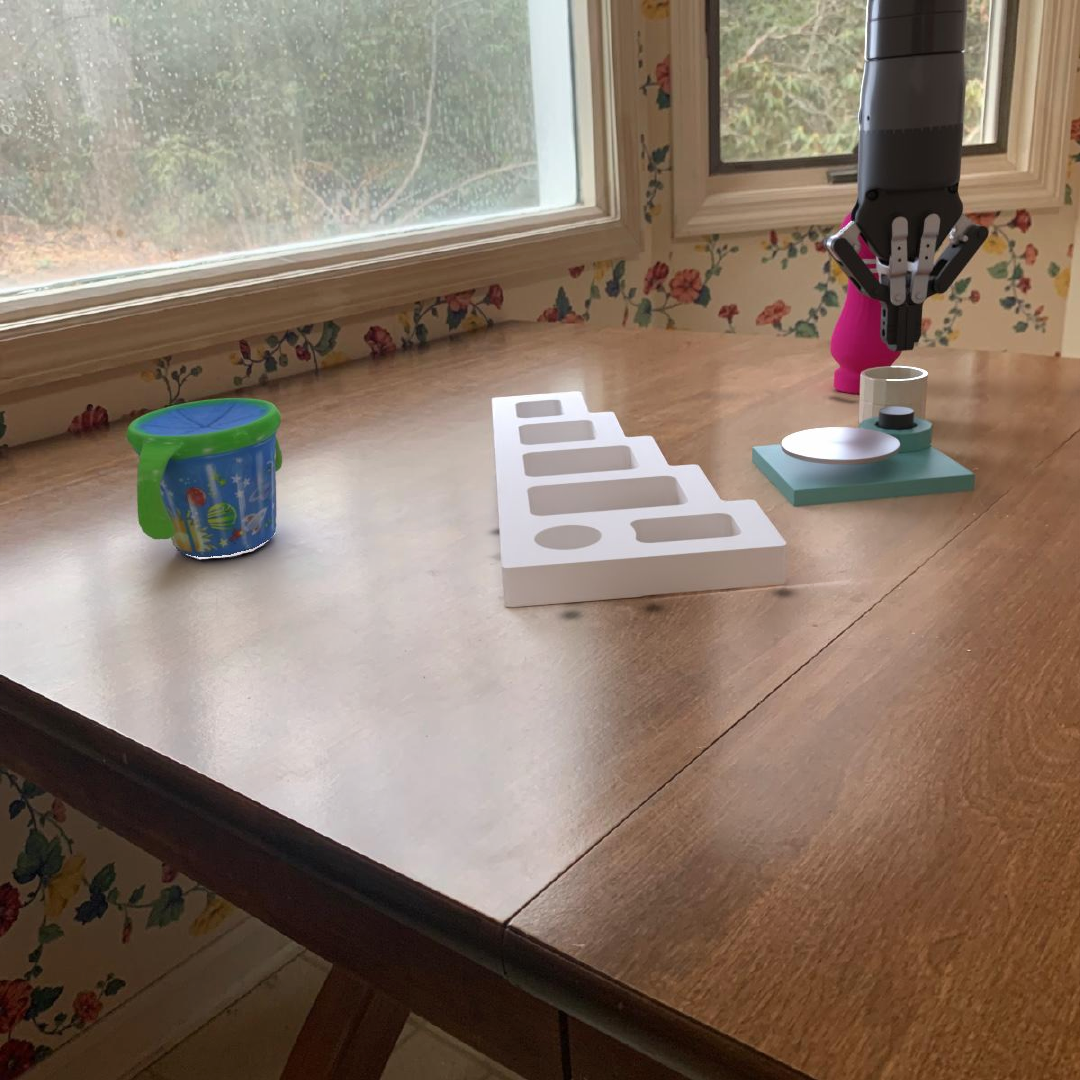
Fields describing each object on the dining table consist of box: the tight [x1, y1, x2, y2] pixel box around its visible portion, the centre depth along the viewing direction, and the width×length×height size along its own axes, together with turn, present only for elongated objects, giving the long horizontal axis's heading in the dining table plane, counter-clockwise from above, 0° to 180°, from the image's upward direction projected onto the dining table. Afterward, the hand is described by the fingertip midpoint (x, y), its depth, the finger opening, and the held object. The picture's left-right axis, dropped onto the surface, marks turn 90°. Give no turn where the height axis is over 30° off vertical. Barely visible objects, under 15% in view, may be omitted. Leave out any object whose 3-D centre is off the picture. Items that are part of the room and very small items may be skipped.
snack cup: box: [125, 397, 283, 560], centre depth 81 cm, size 16×10×10 cm
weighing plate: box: [780, 426, 900, 465], centre depth 86 cm, size 9×9×1 cm
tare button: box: [878, 406, 914, 430], centre depth 90 cm, size 3×3×2 cm
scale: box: [751, 417, 976, 508], centre depth 88 cm, size 14×12×3 cm
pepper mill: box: [829, 211, 903, 395], centre depth 111 cm, size 7×7×20 cm
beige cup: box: [858, 365, 929, 424], centre depth 100 cm, size 6×6×5 cm
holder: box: [491, 390, 787, 608], centre depth 89 cm, size 45×18×3 cm, turn 3°
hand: (900, 348), depth 89 cm, fingers closed
